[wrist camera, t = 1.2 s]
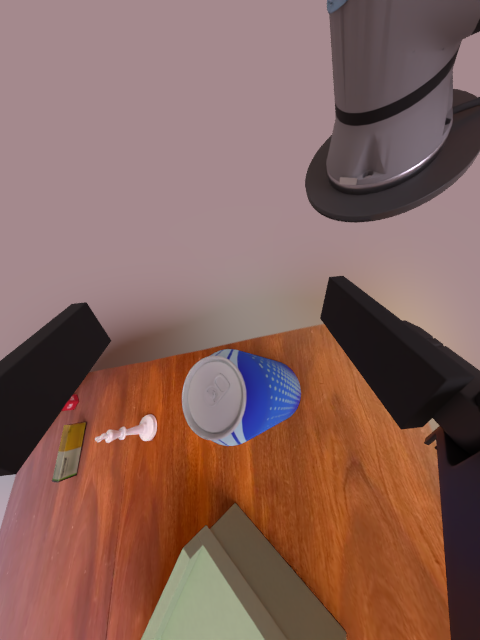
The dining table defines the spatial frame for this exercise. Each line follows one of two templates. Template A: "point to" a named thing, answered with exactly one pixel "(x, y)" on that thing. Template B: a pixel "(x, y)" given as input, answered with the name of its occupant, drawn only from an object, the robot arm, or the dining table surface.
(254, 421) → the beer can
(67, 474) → the medication box
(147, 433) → the chess piece
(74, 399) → the red letter cube
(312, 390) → the dining table surface
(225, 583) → the shelf
